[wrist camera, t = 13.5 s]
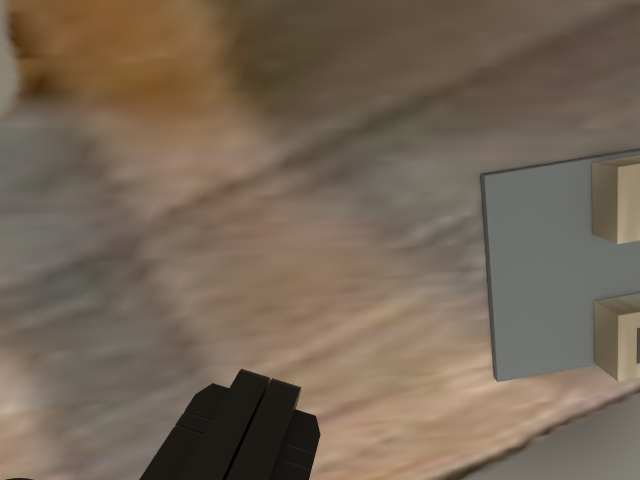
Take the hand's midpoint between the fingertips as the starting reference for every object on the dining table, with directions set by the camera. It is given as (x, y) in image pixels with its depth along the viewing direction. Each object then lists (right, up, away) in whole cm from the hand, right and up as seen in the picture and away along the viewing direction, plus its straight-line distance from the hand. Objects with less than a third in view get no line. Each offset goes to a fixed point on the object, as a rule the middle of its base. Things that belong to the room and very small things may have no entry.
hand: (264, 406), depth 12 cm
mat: (+18, +2, +20) cm, 27 cm away
